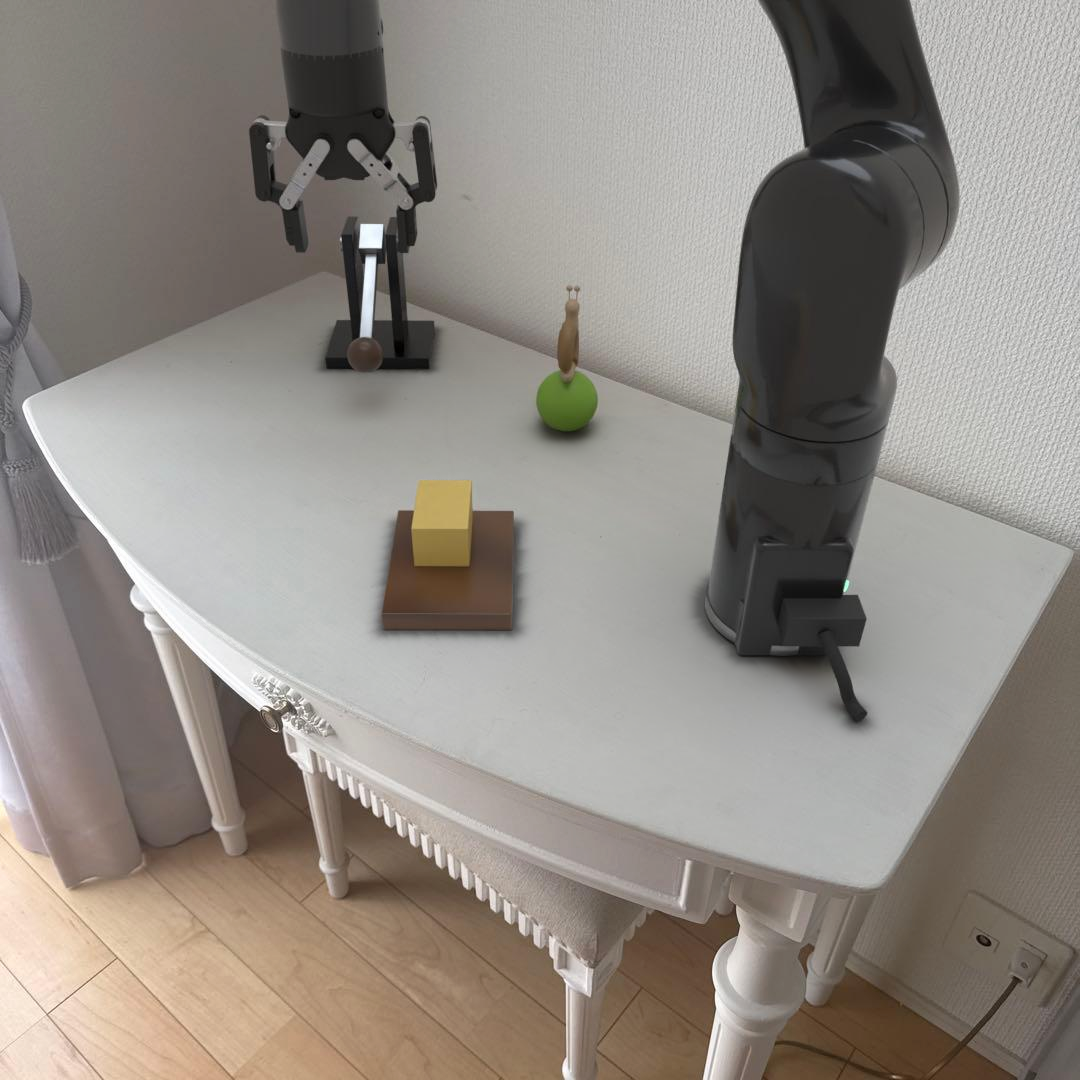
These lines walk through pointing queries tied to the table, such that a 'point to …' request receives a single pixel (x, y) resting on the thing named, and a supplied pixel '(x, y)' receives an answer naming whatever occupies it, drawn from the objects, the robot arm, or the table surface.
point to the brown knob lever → (368, 299)
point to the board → (453, 580)
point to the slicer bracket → (397, 337)
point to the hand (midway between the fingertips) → (354, 249)
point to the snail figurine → (567, 380)
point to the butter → (442, 523)
